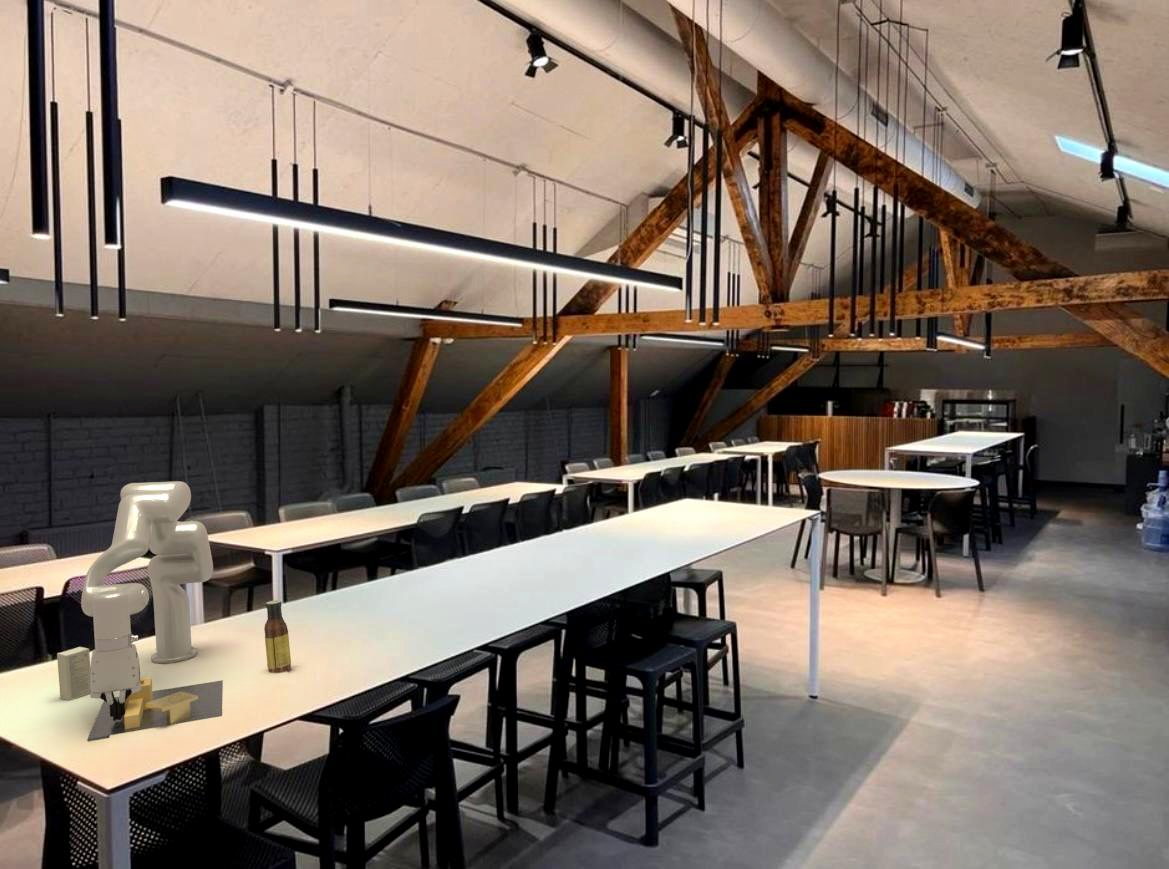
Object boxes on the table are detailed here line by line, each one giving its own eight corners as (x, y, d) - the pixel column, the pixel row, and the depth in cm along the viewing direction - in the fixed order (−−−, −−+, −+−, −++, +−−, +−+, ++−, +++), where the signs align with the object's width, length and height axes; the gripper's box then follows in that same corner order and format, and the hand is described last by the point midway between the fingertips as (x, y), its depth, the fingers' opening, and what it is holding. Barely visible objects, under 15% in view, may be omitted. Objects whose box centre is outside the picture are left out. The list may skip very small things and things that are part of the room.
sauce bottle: (294, 666, 232) (290, 598, 231) (287, 674, 226) (283, 603, 225) (271, 667, 232) (267, 599, 231) (263, 675, 225) (259, 604, 224)
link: (124, 704, 205) (122, 681, 205) (152, 700, 207) (151, 677, 207) (116, 730, 188) (115, 705, 188) (147, 725, 191) (146, 700, 191)
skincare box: (83, 690, 218) (80, 646, 217) (93, 693, 216) (90, 648, 215) (59, 698, 212) (56, 653, 212) (68, 701, 210) (65, 655, 210)
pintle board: (104, 700, 210) (103, 678, 210) (222, 682, 221) (221, 661, 221) (86, 743, 183) (85, 718, 183) (222, 719, 194) (220, 696, 194)
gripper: (150, 634, 200) (154, 707, 201) (79, 643, 194) (84, 718, 195) (147, 642, 193) (151, 718, 194) (74, 652, 187) (78, 730, 188)
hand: (117, 718), depth 194 cm, fingers closed
